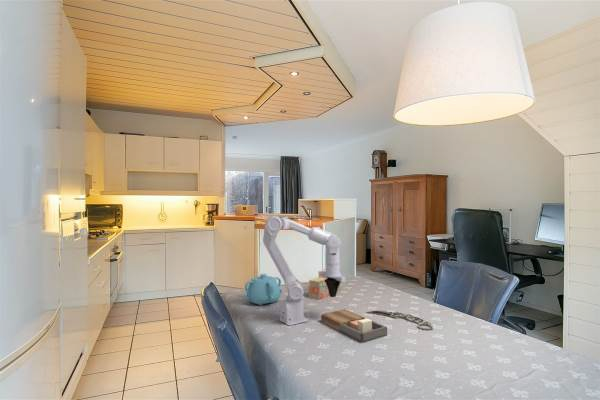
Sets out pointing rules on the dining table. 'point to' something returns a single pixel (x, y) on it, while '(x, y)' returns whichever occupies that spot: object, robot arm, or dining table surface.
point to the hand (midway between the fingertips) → (332, 296)
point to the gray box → (363, 337)
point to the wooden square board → (339, 318)
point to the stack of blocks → (319, 287)
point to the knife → (406, 318)
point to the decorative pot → (263, 289)
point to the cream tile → (364, 325)
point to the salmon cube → (354, 324)
